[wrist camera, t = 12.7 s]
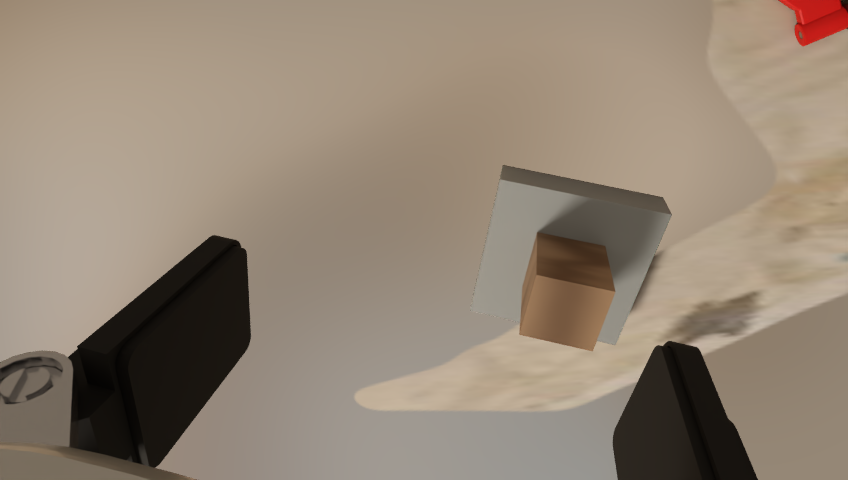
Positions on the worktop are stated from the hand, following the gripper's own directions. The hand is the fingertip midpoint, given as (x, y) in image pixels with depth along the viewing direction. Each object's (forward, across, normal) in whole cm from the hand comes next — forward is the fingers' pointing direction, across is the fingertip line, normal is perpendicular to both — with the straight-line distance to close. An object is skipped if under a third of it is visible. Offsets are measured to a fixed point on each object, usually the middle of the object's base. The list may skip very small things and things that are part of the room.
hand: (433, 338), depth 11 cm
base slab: (+28, -7, +12) cm, 32 cm away
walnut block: (+25, -7, +12) cm, 29 cm away
